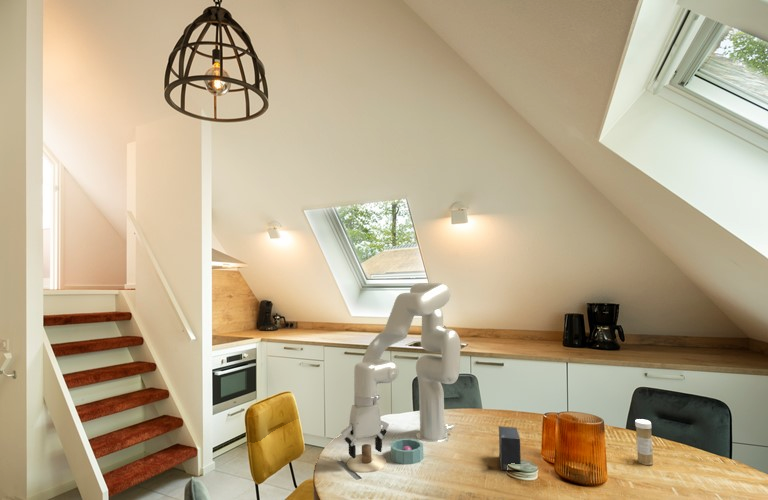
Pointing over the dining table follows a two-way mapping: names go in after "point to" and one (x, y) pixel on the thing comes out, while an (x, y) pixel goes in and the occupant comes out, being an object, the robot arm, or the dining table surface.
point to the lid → (366, 461)
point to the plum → (406, 448)
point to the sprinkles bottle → (644, 441)
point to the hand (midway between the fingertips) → (365, 453)
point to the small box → (509, 446)
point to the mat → (349, 470)
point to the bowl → (407, 451)
